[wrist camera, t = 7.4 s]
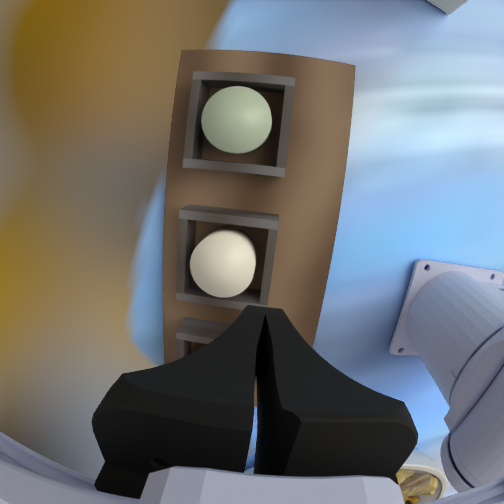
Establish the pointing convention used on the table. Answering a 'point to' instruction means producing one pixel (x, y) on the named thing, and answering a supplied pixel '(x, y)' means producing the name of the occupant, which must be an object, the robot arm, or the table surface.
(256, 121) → the sage button
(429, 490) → the bowl
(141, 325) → the table surface
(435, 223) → the table surface
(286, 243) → the panel
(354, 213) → the table surface
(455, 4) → the milk carton
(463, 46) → the table surface
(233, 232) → the cream button
